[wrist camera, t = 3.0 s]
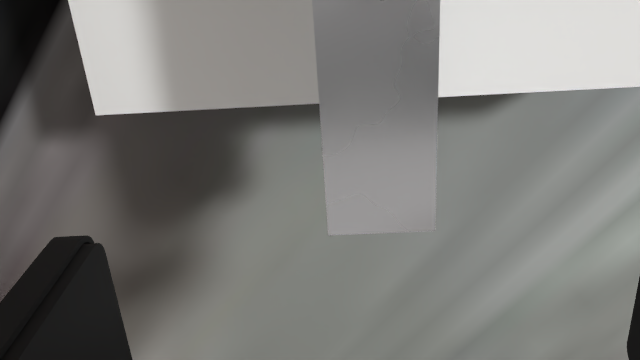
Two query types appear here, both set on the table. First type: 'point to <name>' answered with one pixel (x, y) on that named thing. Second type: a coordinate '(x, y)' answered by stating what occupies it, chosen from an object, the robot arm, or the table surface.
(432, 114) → the key
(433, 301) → the table surface
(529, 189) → the table surface
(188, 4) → the housing
